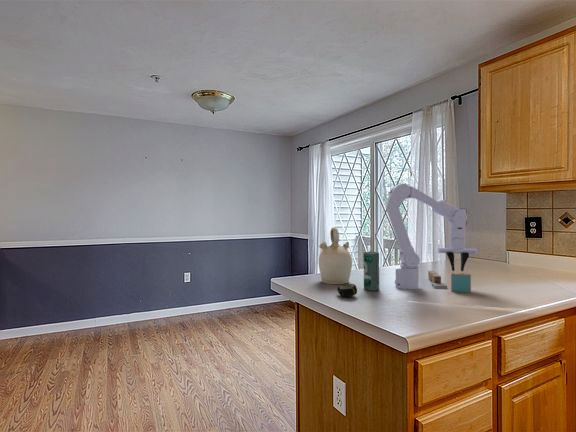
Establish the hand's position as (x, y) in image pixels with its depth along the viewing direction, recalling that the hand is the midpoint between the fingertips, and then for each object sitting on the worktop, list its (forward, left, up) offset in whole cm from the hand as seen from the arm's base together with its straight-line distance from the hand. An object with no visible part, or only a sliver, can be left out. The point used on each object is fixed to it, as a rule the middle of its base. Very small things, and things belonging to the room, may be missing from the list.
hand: (457, 270), depth 143 cm
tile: (0, -7, -7) cm, 10 cm away
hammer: (-8, +6, -7) cm, 12 cm away
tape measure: (-41, -24, -7) cm, 48 cm away
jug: (-51, -2, -7) cm, 51 cm away
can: (-34, -12, -7) cm, 37 cm away
